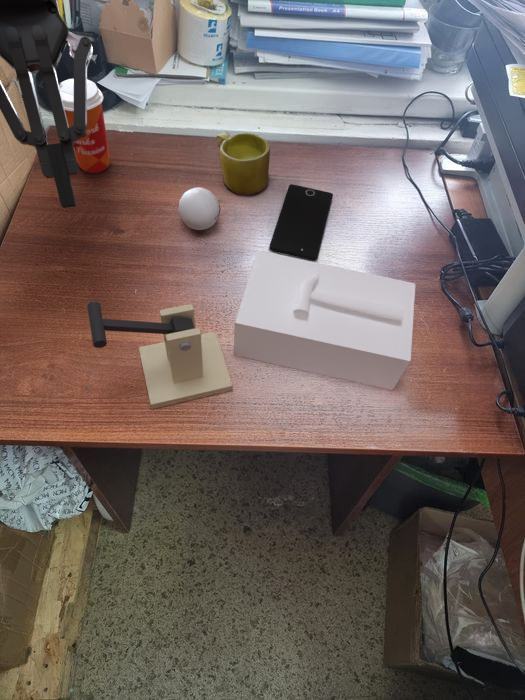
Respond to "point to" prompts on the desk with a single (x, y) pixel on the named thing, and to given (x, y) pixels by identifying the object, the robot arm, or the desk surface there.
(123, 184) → the desk surface
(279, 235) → the cell phone
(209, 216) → the white sphere
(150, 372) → the lever base
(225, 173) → the mug
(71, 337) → the desk surface
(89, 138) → the coffee cup
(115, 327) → the black lever
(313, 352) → the hammer on box
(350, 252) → the desk surface
